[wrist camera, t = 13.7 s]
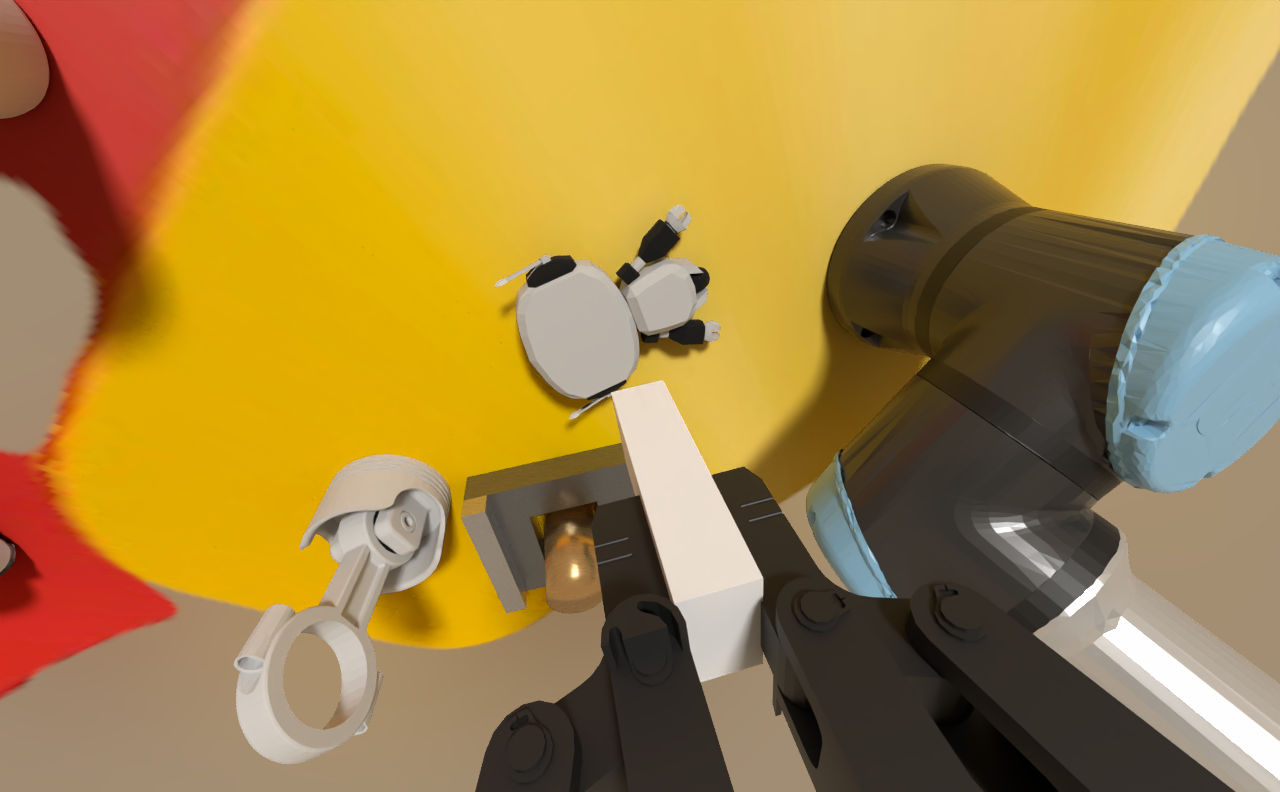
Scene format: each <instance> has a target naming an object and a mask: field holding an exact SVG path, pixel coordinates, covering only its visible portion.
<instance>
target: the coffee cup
mask: <svg viewBox="0 0 1280 792" xmlns="http://www.w3.org/2000/svg"><path fill="white" fill-rule="evenodd" d="M48 85H49V66H48V60H47V56H46V53H45V50H44V48H43V45H42V43H41V40H40V38H39V36H38V34H37V32H36V31H35V29H34V27H33V26H32V24H31V23H30V21H29V20H28V18H27V17H26V16H25V14H24V13H23V11H22V10H21V9H20V8H19V6H18V5H17V4H16V3H15V2H14V0H0V119H3V118H11V117H15V116H19V115H22V114H24V113H26V112H28V111H30V110H32V109H34V108H35V107H36V106H37V105H38V104H39V103H40V102H41V101H42V99H43V98H44V96H45V94H46V91H47V88H48Z"/></svg>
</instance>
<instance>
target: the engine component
mask: <svg viewBox="0 0 1280 792" xmlns="http://www.w3.org/2000/svg"><path fill="white" fill-rule="evenodd" d="M450 504H451V493H450V489H449V486H448V484H447V482H446V480H445V479H444V478H443V477H442V475H441V474H439V473H438V472H437V471H436V470H435V469H434V468H432V467H430V466H429V465H427V464H425V463H423V462H421V461H419V460H416V459H413V458H410V457H405V456H400V455H390V454H388V455H374V456H369V457H364V458H361V459H358V460H356V461H353V462H351V463H350V464H348V465H346V466H345V467H343V468H342V469H341V470H340V471H339V472H338V473H337V474H336V476H335V477H334V479H333V480H332V482H331V484H330V486H329V488H328V490H327V492H326V494H325V496H324V498H323V500H322V501H321V503H320V505H319V507H318V509H317V511H316V513H315V515H314V517H313V519H312V521H311V522H310V524H309V526H308V528H307V530H306V532H305V534H304V536H303V538H302V541H301V543H300V549H303V548H305V547H307V546H309V545H310V543H311V542H312V540H313V538H314V536H315V534H318V535H320V536H322V537H323V538H324V539H326V540H327V541H328V542H329V543H330V544H331V546H330V554H331V556H332V558H333V559H334V560H335V561H336V562H338V563H339V564H340V565H339V567H338V569H337V571H336V573H335V575H334V576H333V578H332V580H331V582H330V584H329V586H328V588H327V590H326V592H325V594H324V596H323V598H322V600H321V602H320V604H319V606H314V607H310V608H307V609H305V610H303V611H300V612H298V613H296V614H295V611H294V610H293V609H292V608H291V607H289V606H286V605H282V604H278V605H273V606H270V607H268V609H267V610H266V612H265V613H264V615H263V616H262V618H261V620H260V621H259V623H258V624H257V626H256V627H255V629H254V631H253V632H252V634H251V635H250V637H249V639H248V640H247V642H246V644H245V645H244V647H243V649H242V650H241V652H240V653H239V655H238V657H237V658H236V660H235V662H234V666H235V667H236V669H237V670H239V671H240V675H239V679H238V683H237V692H236V707H237V714H238V719H239V723H240V726H241V728H242V731H243V733H244V735H245V736H246V738H247V740H248V741H249V743H250V744H251V746H252V747H253V748H254V749H255V750H256V751H257V752H258V753H260V754H261V755H262V756H264V757H265V758H267V759H270V760H272V761H274V762H279V763H284V764H295V763H301V762H304V761H307V760H310V759H312V758H314V757H316V756H318V755H321V754H323V753H325V752H327V751H329V750H331V749H334V748H336V747H338V746H340V745H341V744H343V743H344V742H345V741H347V740H348V739H349V738H350V737H351V736H352V735H359V734H362V733H364V732H365V731H366V730H367V728H368V725H369V722H370V719H371V715H372V713H373V709H374V706H375V703H376V700H377V696H378V693H379V690H380V687H381V684H382V680H383V677H384V676H383V675H382V673H380V672H378V671H377V663H376V656H375V651H374V648H373V645H372V642H371V639H370V637H369V635H368V633H367V631H366V628H367V626H368V623H369V621H370V618H371V616H372V613H373V611H374V608H375V605H376V603H377V600H378V598H379V595H380V594H387V593H393V592H397V591H402V590H405V589H408V588H410V587H412V586H415V585H417V584H419V583H420V582H422V581H424V580H425V579H426V578H427V577H429V576H430V575H431V574H432V572H433V571H434V570H435V569H436V567H437V565H438V563H439V561H440V557H441V552H442V546H443V541H444V536H445V530H446V525H447V519H448V514H449V510H450ZM300 633H310V634H314V635H316V636H318V637H320V638H322V639H323V640H325V641H326V642H327V643H328V644H329V645H330V646H331V647H332V648H333V650H334V652H335V654H336V655H337V658H338V661H339V664H340V667H341V673H342V689H341V696H340V701H339V703H338V706H337V709H336V711H335V713H334V715H333V717H332V718H331V720H330V721H329V723H328V724H327V726H326V727H324V729H323V730H320V729H313V728H310V727H308V726H306V725H305V724H303V723H301V722H300V721H299V720H298V719H297V718H296V717H295V716H294V714H293V713H292V711H291V709H290V708H289V706H288V703H287V700H286V698H285V694H284V688H283V668H284V664H285V659H286V656H287V653H288V651H289V648H290V646H291V645H292V643H293V641H294V640H295V638H296V637H297V636H298V635H299V634H300Z"/></svg>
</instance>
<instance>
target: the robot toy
mask: <svg viewBox="0 0 1280 792" xmlns="http://www.w3.org/2000/svg"><path fill="white" fill-rule="evenodd" d="M684 211H685V209H684V207H682V206H681V205H676V206H674V207H673V208H672V209H670V210H669V211H668V214H667V217H666V220H665V222H663V221H662V220H658V221H657V222H656V223H655V225H654V226H653V227H652V228H651V229H650V230H649V231H648V233H647V234H646V235H645V236H644V237H643V239H642V242H641V246H640V249H639V254H638V257H637V258H636V259H635V260H634V261H633V262H632V263H631V264H629V263H625V264H624V265H623V266H622V267H621V268H620V269H619V270H618V271H617V273H616V274H617V275H618V276H619V277H620V278H621V279H622V281H621V284H620V287H619V289H618V288H617V287H616V285H615V284H614V283H613V282H612V280H611V279H610V278H609V277H608V275H607V274H606V273H605V272H604V271H603V270H602V269H601V268H600V267H598V266H597V265H595V264H594V263H592V262H590V261H589V260H573V259H572V257H571V256H570V255H567V256H554V257H551V258H550V257H549V255H547V254H546V255H544V256H542V257H540V258H539V260H538V261H536V262H535V263H533V264H531V265H529V266H527V267H525V268H523V269H521V270H520V271H518V272H516V273H514V274H512V275H510V276H508V277H507V278H503V279H501V280H499V281H497V283H496V284H495V286H502V285H504V284H506V283H508V281H510V280H511V279H513V278H515V277H517V276H519V275H521V274H523V273H524V272H526V271H528V270H530V269H531V270H530V271H529V272H528V273H527V274H526V280H527V282H526V283H525V284H524V285H523V286H522V287H521V288H520V290H519V291H518V292H517V299H516V305H515V306H516V316H517V323H518V327H519V332H520V336H521V339H522V342H523V344H524V347H525V350H526V353H527V355H528V358H529V361H530V362H531V364H532V365H533V366H534V367H535V368H536V370H537V371H538V372H539V373H540V374H541V376H542V377H543V378H544V379H545V381H546V382H547V383H548V384H550V385H551V386H552V387H553V388H554V389H555V390H556V391H558V392H559V393H560V394H562V395H565V396H567V397H570V398H572V399H580V398H587V399H588V400H590V399H595V398H597V399H595V400H594V401H592V402H590V403H589V404H587V405H586V406H584V407H583V408H581V409H580V410H578V411H575V412H574V413H572V414H571V416H570V418H569V419H574V418H576V417H577V416H579V414H581V413H582V412H584V411H585V410H587V409H588V408H590V407H591V406H593V405H594V404H596V403H597V402H599V401H601V400H602V399H604V398H605V397H607V398H608V397H610V396H611V392H614V391H616V390H618V389H619V388H620V387H621V386H622V385H624V384H625V383H626V379H627V378H628V377H629V376H630V375H631V374H632V373H633V372H634V371H635V369H636V366H637V363H638V359H639V338H638V333H637V329H638V330H639V331H640V332H641V339H642V341H643V342H644V343H656V342H658V340H659V338H665V337H668V338H670V339H672V340H674V341H676V342H678V343H680V344H683V345H689V344H703V341H704V340H705V341H706V342H711V341H715V340H717V339H718V338H719V333H718V332H712V331H715V330H720V329H721V327H720V325H719V323H718V322H715V321H708V322H706V323H703V321H701V320H698V319H697V320H690V319H691V318H692V316H693V315H694V313H695V311H696V310H697V309H698V308H699V307H700V306H702V305H703V304H704V303H705V302H706V299H707V294H708V290H707V289H706V288H705V287H706V286H707V285H708V284H709V280H710V277H709V274H708V272H707V270H706V269H704V268H702V267H697V266H696V265H695V264H693V263H692V262H690V261H689V260H687V259H686V258H676V259H670V258H668V257H665V255H666V254H667V252H668V251H669V250H670V249H671V248H672V247H673V246H674V245H675V244H676V243H677V241H678V240H679V239H680V238H679V237H678V236H677V235H676V233H679V232H681V231H683V230H686V228H687V226H688V225H689V223H690V221H691V216H690V214H689V213H687V212H685V214H684V215H683V216H682V217H681V218H680V219H679V220H678V217H679V216H680V215H681V214H682V213H683V212H684ZM636 327H637V328H636Z"/></svg>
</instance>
